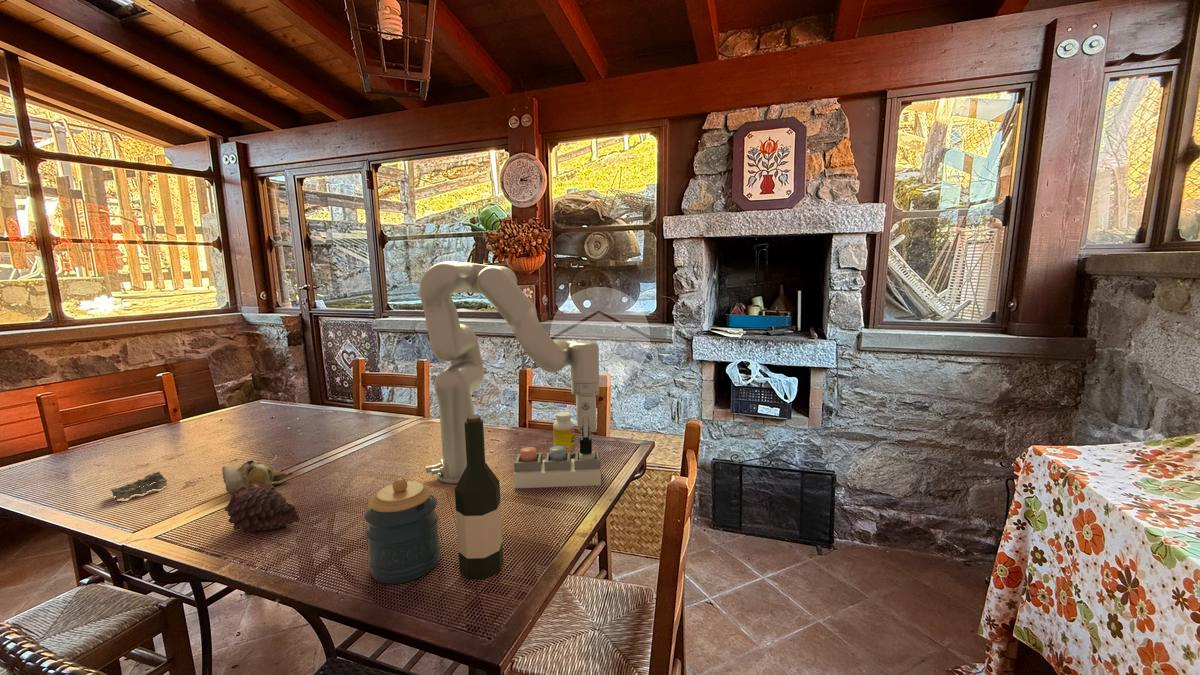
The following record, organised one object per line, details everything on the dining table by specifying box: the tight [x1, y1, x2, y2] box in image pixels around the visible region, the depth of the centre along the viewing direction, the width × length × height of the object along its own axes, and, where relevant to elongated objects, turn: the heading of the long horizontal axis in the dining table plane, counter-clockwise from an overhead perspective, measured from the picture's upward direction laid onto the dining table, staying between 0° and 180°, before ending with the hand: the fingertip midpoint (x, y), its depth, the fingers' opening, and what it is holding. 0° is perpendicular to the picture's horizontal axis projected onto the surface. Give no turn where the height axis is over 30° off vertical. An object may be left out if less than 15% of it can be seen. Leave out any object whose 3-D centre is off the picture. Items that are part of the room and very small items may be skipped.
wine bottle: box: [454, 414, 504, 580], centre depth 89 cm, size 8×8×30 cm
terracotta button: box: [519, 446, 538, 462], centre depth 128 cm, size 4×4×3 cm
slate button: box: [549, 445, 566, 461], centre depth 129 cm, size 4×4×3 cm
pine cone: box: [224, 486, 301, 533], centre depth 107 cm, size 18×10×10 cm
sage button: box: [579, 450, 595, 460], centre depth 129 cm, size 4×4×3 cm
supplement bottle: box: [552, 411, 576, 456], centre depth 148 cm, size 7×7×13 cm
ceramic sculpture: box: [221, 459, 294, 494], centre depth 126 cm, size 11×9×15 cm
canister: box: [364, 477, 441, 585], centre depth 91 cm, size 13×13×18 cm
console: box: [513, 450, 602, 489], centre depth 129 cm, size 23×9×6 cm, turn 92°
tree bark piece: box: [110, 471, 168, 500], centre depth 126 cm, size 10×7×4 cm
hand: (585, 452), depth 129 cm, fingers closed
